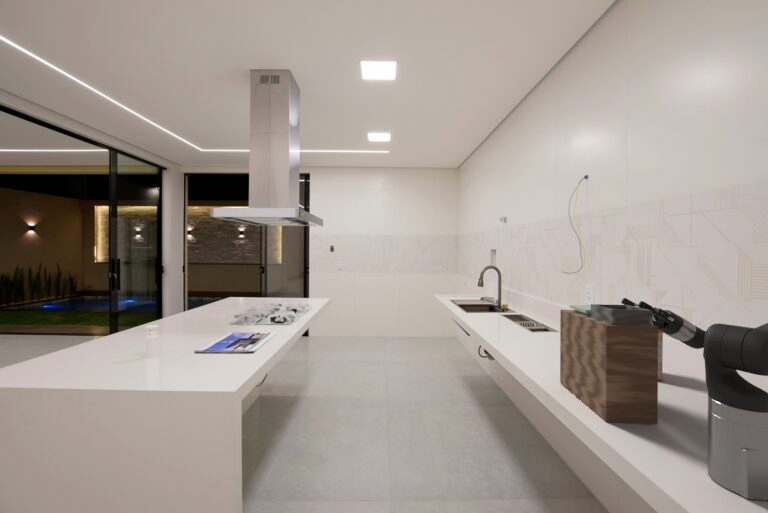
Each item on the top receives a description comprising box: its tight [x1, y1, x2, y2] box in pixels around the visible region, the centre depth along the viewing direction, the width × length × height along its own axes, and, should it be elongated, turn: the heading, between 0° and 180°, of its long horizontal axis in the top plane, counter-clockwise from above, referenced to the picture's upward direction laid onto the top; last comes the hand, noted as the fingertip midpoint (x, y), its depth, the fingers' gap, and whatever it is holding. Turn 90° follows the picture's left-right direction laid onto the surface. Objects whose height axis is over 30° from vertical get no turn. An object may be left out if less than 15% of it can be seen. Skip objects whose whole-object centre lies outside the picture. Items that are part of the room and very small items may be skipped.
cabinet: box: [559, 303, 659, 426], centre depth 105 cm, size 28×14×32 cm, turn 175°
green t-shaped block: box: [569, 304, 640, 315], centre depth 112 cm, size 11×23×3 cm, turn 85°
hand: (630, 301), depth 111 cm, fingers open, 8 cm apart
